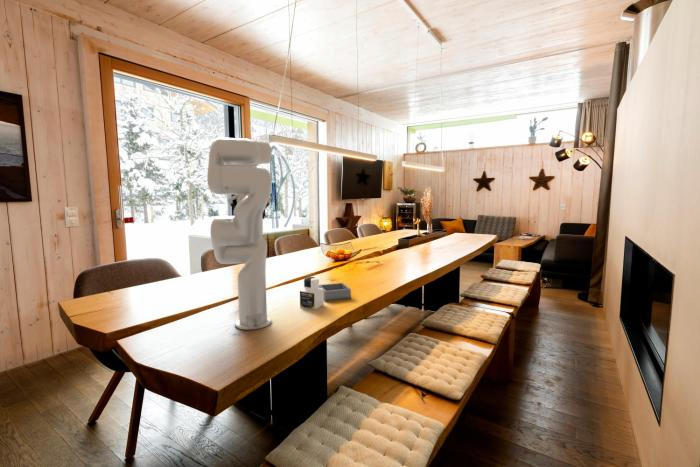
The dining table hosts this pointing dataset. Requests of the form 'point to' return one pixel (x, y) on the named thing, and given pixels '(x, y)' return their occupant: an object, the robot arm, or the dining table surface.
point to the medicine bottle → (311, 294)
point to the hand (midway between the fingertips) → (250, 219)
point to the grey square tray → (336, 292)
